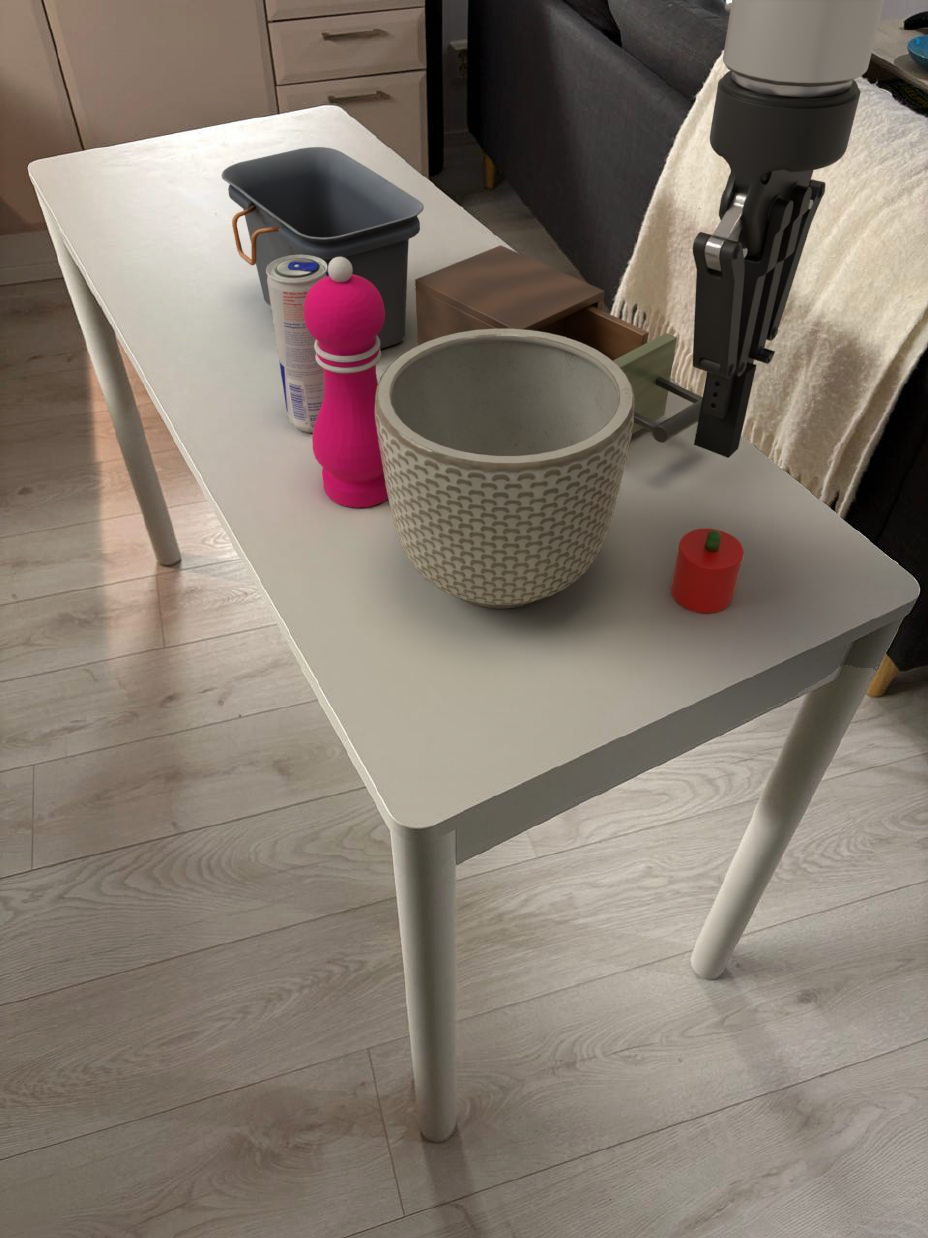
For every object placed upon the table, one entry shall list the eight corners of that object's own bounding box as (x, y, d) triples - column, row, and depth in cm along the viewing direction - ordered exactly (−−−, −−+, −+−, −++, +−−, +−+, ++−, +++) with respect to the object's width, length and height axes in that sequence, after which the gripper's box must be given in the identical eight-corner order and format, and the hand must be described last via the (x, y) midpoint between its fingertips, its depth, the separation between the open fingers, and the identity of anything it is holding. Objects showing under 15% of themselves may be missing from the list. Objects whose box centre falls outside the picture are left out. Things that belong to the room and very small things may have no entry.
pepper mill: (303, 500, 82) (269, 270, 68) (342, 454, 87) (318, 230, 73) (380, 520, 80) (362, 287, 66) (416, 472, 85) (406, 245, 71)
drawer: (720, 443, 86) (737, 364, 80) (648, 489, 81) (660, 408, 76) (565, 364, 96) (571, 289, 90) (492, 401, 91) (494, 323, 86)
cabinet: (595, 384, 95) (604, 290, 88) (514, 427, 90) (518, 330, 83) (498, 334, 102) (500, 244, 95) (418, 371, 97) (414, 279, 90)
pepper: (743, 588, 74) (759, 527, 70) (715, 622, 71) (730, 561, 67) (688, 564, 76) (701, 504, 72) (659, 596, 73) (670, 535, 69)
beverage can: (348, 408, 92) (333, 252, 82) (338, 438, 88) (320, 279, 78) (295, 405, 92) (273, 250, 82) (283, 435, 89) (258, 277, 78)
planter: (573, 491, 82) (589, 314, 71) (644, 631, 70) (676, 444, 59) (372, 519, 80) (355, 341, 69) (410, 670, 68) (397, 482, 57)
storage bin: (441, 346, 100) (438, 205, 91) (309, 391, 94) (290, 246, 84) (339, 272, 113) (327, 141, 103) (216, 308, 107) (190, 172, 97)
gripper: (778, 39, 58) (711, 391, 74) (668, 91, 50) (621, 470, 67) (903, 59, 54) (805, 424, 71) (805, 118, 47) (720, 510, 63)
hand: (715, 446), depth 69 cm, fingers closed
